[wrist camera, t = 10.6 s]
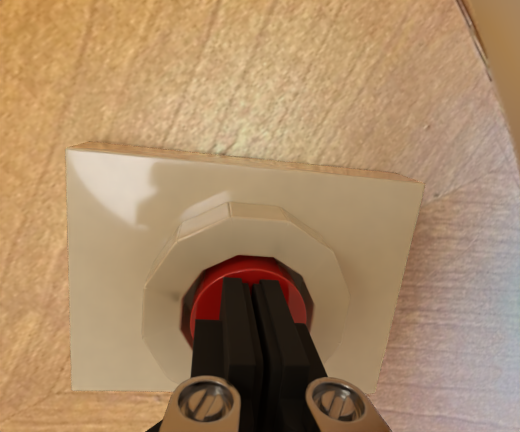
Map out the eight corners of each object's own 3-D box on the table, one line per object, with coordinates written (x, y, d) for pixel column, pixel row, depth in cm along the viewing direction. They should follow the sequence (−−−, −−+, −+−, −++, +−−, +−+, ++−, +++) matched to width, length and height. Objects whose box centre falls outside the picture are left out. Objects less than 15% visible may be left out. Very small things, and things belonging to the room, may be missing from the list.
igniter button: (302, 251, 13) (315, 272, 11) (287, 341, 14) (298, 373, 12) (196, 243, 12) (194, 265, 10) (189, 338, 13) (185, 371, 11)
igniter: (397, 172, 15) (459, 195, 11) (356, 360, 17) (395, 430, 14) (87, 140, 13) (36, 154, 9) (89, 353, 16) (49, 433, 12)
